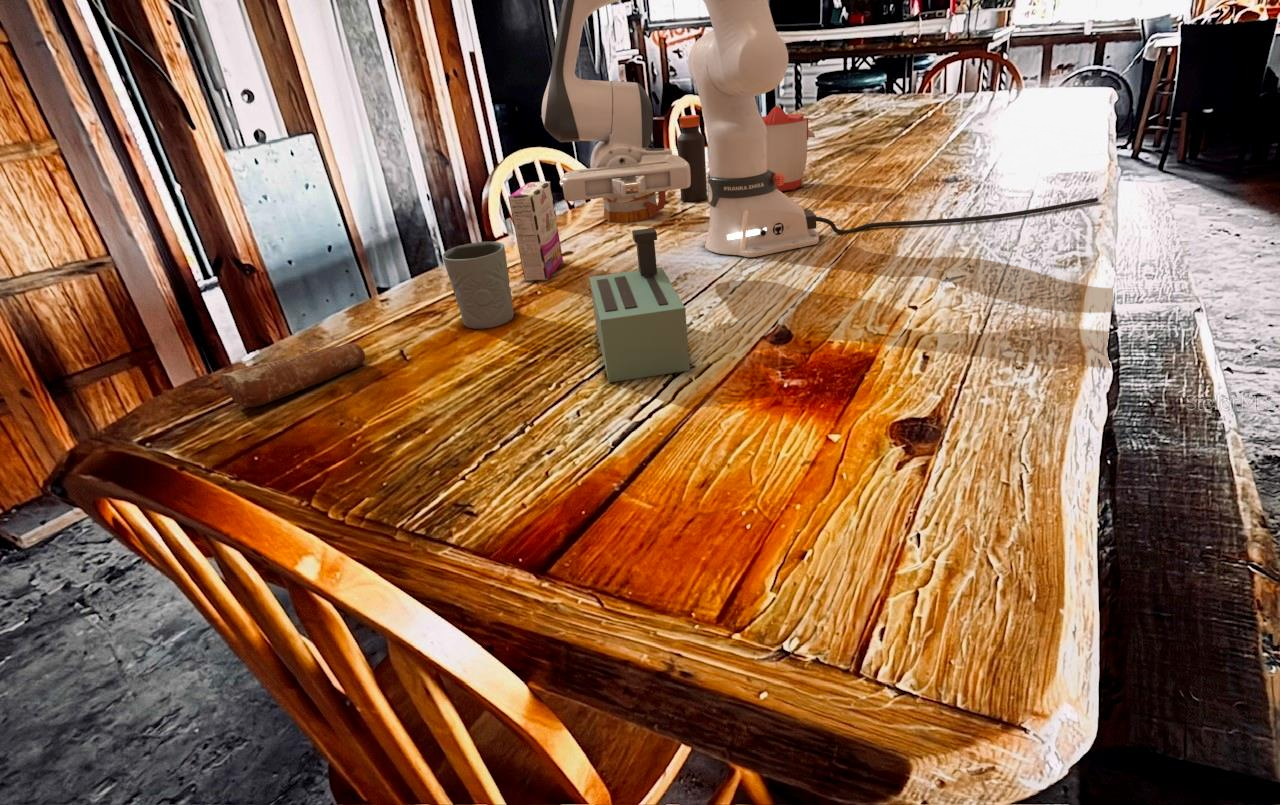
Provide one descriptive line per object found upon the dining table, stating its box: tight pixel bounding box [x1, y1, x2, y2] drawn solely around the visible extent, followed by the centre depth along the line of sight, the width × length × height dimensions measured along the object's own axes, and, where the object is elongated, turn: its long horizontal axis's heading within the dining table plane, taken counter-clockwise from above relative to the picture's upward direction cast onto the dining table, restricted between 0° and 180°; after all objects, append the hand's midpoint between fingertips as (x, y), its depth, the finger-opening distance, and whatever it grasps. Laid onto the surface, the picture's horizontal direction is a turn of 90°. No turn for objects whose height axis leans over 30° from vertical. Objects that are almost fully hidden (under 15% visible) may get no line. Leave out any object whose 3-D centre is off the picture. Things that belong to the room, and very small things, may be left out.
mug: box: [602, 146, 667, 224], centre depth 168 cm, size 20×14×15 cm
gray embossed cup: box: [442, 241, 515, 330], centre depth 116 cm, size 10×10×12 cm
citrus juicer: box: [761, 105, 816, 192], centre depth 179 cm, size 16×17×20 cm
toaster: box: [589, 266, 691, 383], centre depth 100 cm, size 11×18×9 cm, turn 8°
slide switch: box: [631, 227, 658, 276], centre depth 101 cm, size 3×2×6 cm
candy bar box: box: [508, 181, 564, 282], centre depth 135 cm, size 11×5×16 cm, turn 168°
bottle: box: [676, 114, 708, 203], centre depth 177 cm, size 7×7×20 cm
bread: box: [218, 342, 366, 409], centre depth 100 cm, size 6×19×6 cm, turn 132°
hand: (632, 189), depth 105 cm, fingers closed
